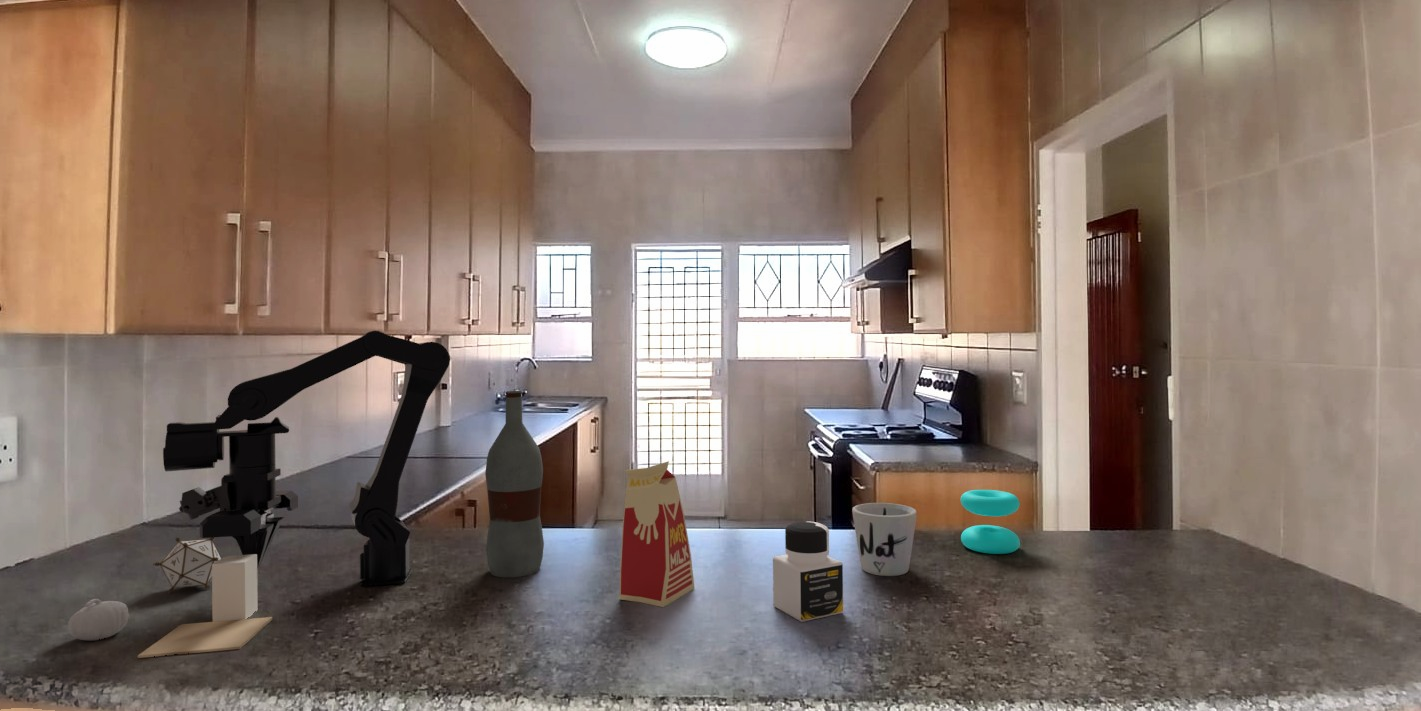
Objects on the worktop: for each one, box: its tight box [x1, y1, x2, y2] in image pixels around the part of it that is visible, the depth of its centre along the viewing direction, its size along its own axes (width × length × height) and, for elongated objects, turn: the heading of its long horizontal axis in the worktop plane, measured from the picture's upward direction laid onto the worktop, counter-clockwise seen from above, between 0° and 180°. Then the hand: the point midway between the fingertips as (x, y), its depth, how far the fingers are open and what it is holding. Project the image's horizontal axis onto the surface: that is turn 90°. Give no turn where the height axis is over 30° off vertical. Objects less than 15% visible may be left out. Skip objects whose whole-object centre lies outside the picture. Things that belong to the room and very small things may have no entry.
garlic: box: [67, 598, 130, 641], centre depth 90 cm, size 6×5×5 cm
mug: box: [851, 502, 918, 577], centre depth 117 cm, size 10×15×10 cm
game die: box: [152, 536, 223, 594], centre depth 109 cm, size 9×8×10 cm
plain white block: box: [211, 554, 259, 622], centre depth 97 cm, size 4×4×8 cm
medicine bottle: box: [772, 520, 844, 623], centre depth 97 cm, size 7×7×12 cm
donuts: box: [960, 489, 1021, 555], centre depth 127 cm, size 10×10×10 cm
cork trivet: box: [137, 616, 273, 659], centre depth 90 cm, size 11×10×1 cm
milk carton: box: [618, 461, 695, 608], centre depth 105 cm, size 9×9×20 cm
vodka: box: [484, 390, 545, 579], centre depth 117 cm, size 9×9×30 cm
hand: (253, 570), depth 103 cm, fingers closed
